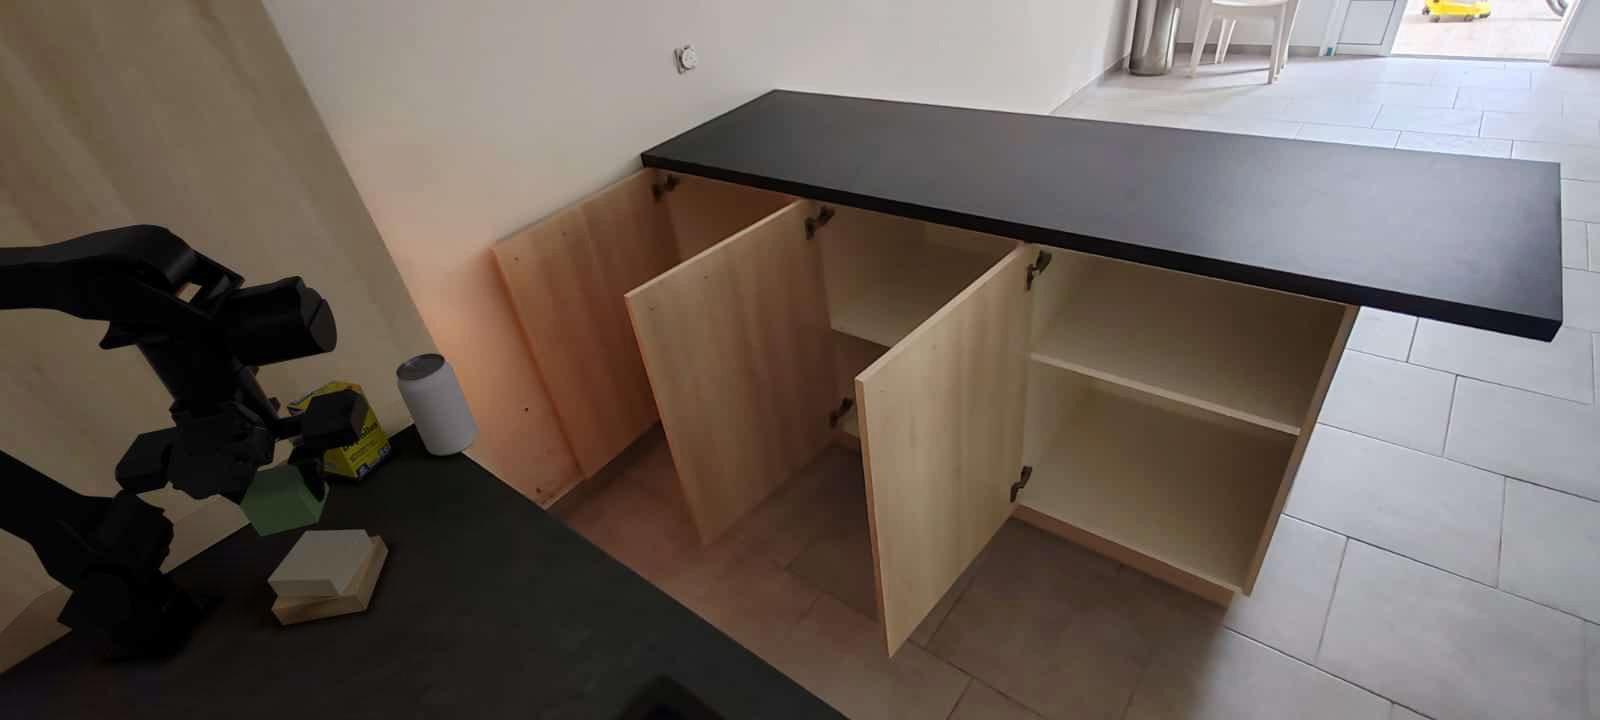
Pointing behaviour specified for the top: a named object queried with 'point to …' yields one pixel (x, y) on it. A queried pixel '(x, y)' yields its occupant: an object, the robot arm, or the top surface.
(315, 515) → the green block
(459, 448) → the can
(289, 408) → the supplement box
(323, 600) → the birch base block
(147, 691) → the top surface
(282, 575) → the cream middle block
